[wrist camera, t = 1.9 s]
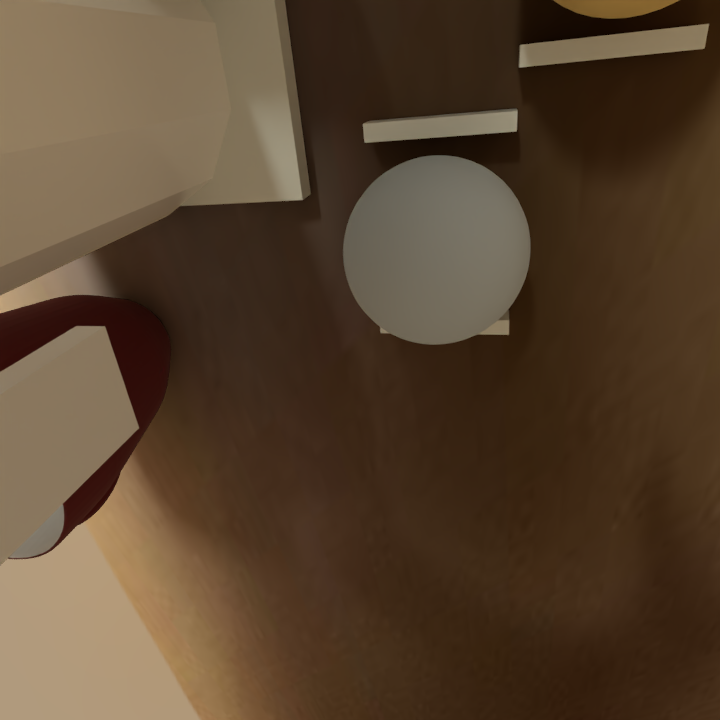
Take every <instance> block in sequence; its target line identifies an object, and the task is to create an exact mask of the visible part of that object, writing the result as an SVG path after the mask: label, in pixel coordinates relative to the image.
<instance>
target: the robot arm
mask: <svg viewBox="0 0 720 720" xmlns="http://www.w3.org/2000/svg"><path fill="white" fill-rule="evenodd" d="M138 429H139V426H138V423H137V420H136V417H135V414H134V411H133V408H132V405H131V402H130V399H129V396H128V393H127V390H126V387H125V384H124V381H123V379H122V376H121V373H120V370H119V367H118V364H117V361H116V358H115V355H114V352H113V349H112V346H111V343H110V340H109V337H108V334H107V331H106V328H105V326H75V327H74V328H72V329H70V330H69V331H67V332H65V333H64V334H62V335H61V336H59V337H57V338H56V339H54V340H52V341H51V342H49V343H47V344H46V345H44V346H42V347H41V348H39V349H37V350H36V351H34V352H33V353H31V354H29V355H28V356H26V357H24V358H23V359H21V360H19V361H18V362H16V363H14V364H13V365H11V366H9V367H8V368H6V369H4V370H3V371H1V372H0V565H1V564H2V563H3V562H4V561H5V560H7V559H8V558H9V557H10V556H11V555H12V554H13V553H14V552H15V551H16V550H17V549H18V548H19V547H20V546H21V545H22V544H23V543H24V542H25V541H26V540H27V539H28V538H29V537H30V536H31V535H32V534H33V533H34V532H35V531H36V530H37V529H38V528H39V527H40V526H41V525H42V524H43V523H44V522H45V521H46V520H47V519H48V518H49V517H50V516H51V515H52V514H53V513H54V512H55V511H56V510H57V509H58V508H59V507H60V506H61V505H62V504H63V503H64V502H65V501H66V500H67V499H68V498H69V497H70V496H71V495H72V494H73V493H74V492H75V491H76V490H77V489H78V488H79V487H80V486H81V485H82V484H83V483H84V482H85V481H86V480H87V479H88V478H89V477H90V476H91V475H92V474H93V473H94V472H95V471H96V470H97V469H98V468H99V467H100V466H101V465H102V464H103V463H104V462H105V461H106V460H107V459H108V458H109V457H110V456H111V455H112V454H113V453H114V452H115V451H116V450H117V449H118V448H119V447H120V446H121V445H122V444H123V443H124V442H125V441H126V440H128V439H129V438H130V437H131V436H132V435H133V434H134V433H135V432H136V431H137V430H138Z"/></svg>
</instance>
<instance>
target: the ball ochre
mask: <svg viewBox="0 0 720 720" xmlns="http://www.w3.org/2000/svg"><path fill="white" fill-rule="evenodd" d="M553 1H555V2H556V3H558V4H560V5H561V6H563V7H564V8H567V9H569V10H571V11H573V12H576V13H578V14H582V15H586V16H590V17H597V18H607V19H615V18H629V17H634V16H639V15H644V14H647V13H650V12H653V11H657V10H660V9H662V8H664V7H666V6H669V5H671V4H673V3H675V2H677V1H679V0H553Z"/></svg>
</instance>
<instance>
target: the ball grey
mask: <svg viewBox="0 0 720 720" xmlns="http://www.w3.org/2000/svg"><path fill="white" fill-rule="evenodd" d="M530 251H531V249H530V233H529V227H528V223H527V220H526V217H525V214H524V212H523V210H522V208H521V205H520V203H519V201H518V199H517V198H516V196H515V195H514V193H513V192H512V190H511V189H510V188H509V187H508V186H507V185H506V184H505V182H504V181H503V180H502V179H500V178H499V177H498V176H497V175H496V174H494V173H493V172H492V171H490V170H488V169H487V168H485V167H484V166H482V165H480V164H477V163H475V162H473V161H471V160H467V159H464V158H460V157H455V156H447V155H431V156H424V157H419V158H415V159H412V160H408V161H406V162H404V163H401V164H399V165H397V166H395V167H393V168H392V169H390V170H388V171H387V172H385V173H383V174H382V175H381V176H380V177H379V178H377V179H376V180H375V181H374V182H373V183H372V184H371V185H370V186H369V187H368V188H367V189H366V190H365V192H364V193H363V195H362V196H361V197H360V199H359V200H358V202H357V203H356V205H355V207H354V209H353V211H352V213H351V215H350V218H349V221H348V224H347V227H346V232H345V237H344V245H343V262H344V268H345V274H346V277H347V281H348V284H349V287H350V289H351V291H352V294H353V296H354V298H355V299H356V301H357V302H358V304H359V306H360V307H361V308H362V310H363V311H364V312H365V313H366V314H367V315H368V316H369V317H370V318H371V319H372V320H373V321H374V322H375V323H376V324H377V325H379V326H380V327H381V328H382V329H384V330H386V331H387V332H389V333H391V334H392V335H395V336H397V337H399V338H401V339H404V340H407V341H410V342H415V343H420V344H431V345H435V344H448V343H454V342H458V341H461V340H465V339H468V338H470V337H472V336H475V335H477V334H479V333H480V332H482V331H484V330H486V329H487V328H488V327H490V326H491V325H492V324H494V323H495V322H496V321H497V320H498V319H499V318H501V317H502V316H503V315H504V314H505V313H506V311H507V310H508V309H509V308H510V306H511V305H512V304H513V302H514V301H515V299H516V297H517V296H518V294H519V292H520V290H521V288H522V286H523V283H524V281H525V279H526V275H527V271H528V268H529V261H530Z"/></svg>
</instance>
